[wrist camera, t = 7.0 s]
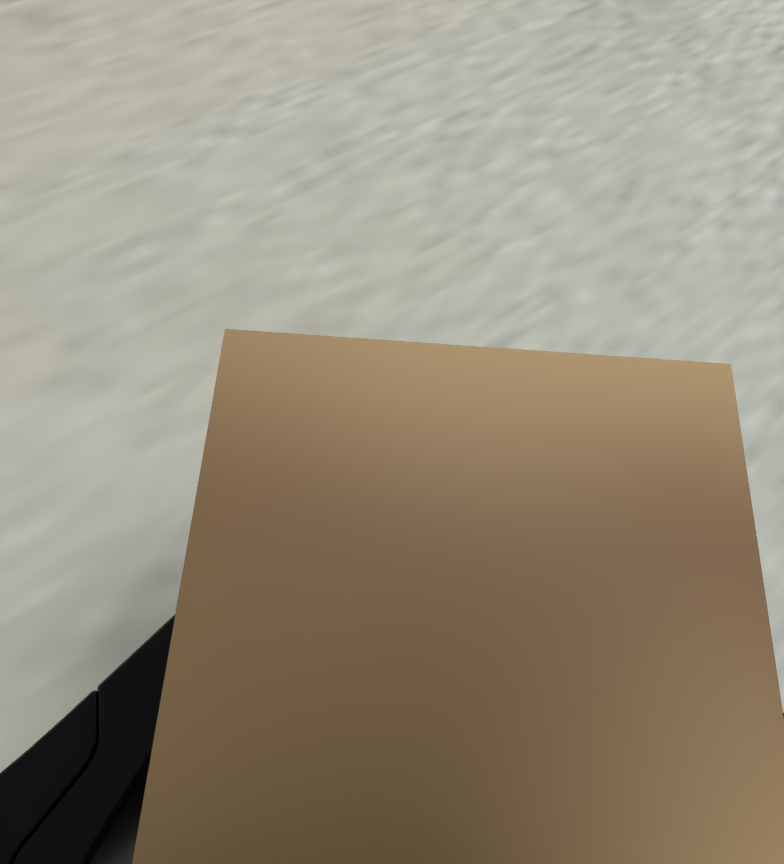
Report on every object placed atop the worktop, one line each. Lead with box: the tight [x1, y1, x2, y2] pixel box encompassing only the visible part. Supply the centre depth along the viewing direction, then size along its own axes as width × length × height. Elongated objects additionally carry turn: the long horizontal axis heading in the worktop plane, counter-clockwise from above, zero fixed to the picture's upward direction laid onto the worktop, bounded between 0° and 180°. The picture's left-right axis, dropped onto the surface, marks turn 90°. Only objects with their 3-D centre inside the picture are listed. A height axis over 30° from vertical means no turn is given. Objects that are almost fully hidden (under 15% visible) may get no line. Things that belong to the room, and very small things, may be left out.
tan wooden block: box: [132, 329, 784, 864], centre depth 9 cm, size 5×5×11 cm
